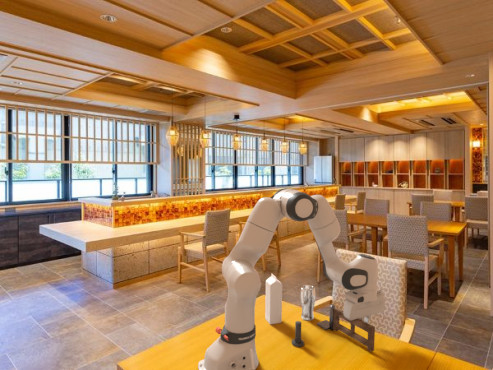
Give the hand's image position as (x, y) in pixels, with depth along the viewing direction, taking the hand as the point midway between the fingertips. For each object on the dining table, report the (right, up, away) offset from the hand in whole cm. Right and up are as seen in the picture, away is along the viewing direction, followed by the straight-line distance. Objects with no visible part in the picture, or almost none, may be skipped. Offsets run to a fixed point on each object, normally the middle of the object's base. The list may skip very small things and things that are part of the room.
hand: (364, 325), depth 138 cm
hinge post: (-12, -6, +12) cm, 18 cm away
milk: (-37, -6, +18) cm, 41 cm away
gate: (-5, -6, 0) cm, 7 cm away
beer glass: (-20, -5, +21) cm, 29 cm away
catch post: (-28, -7, -2) cm, 29 cm away
